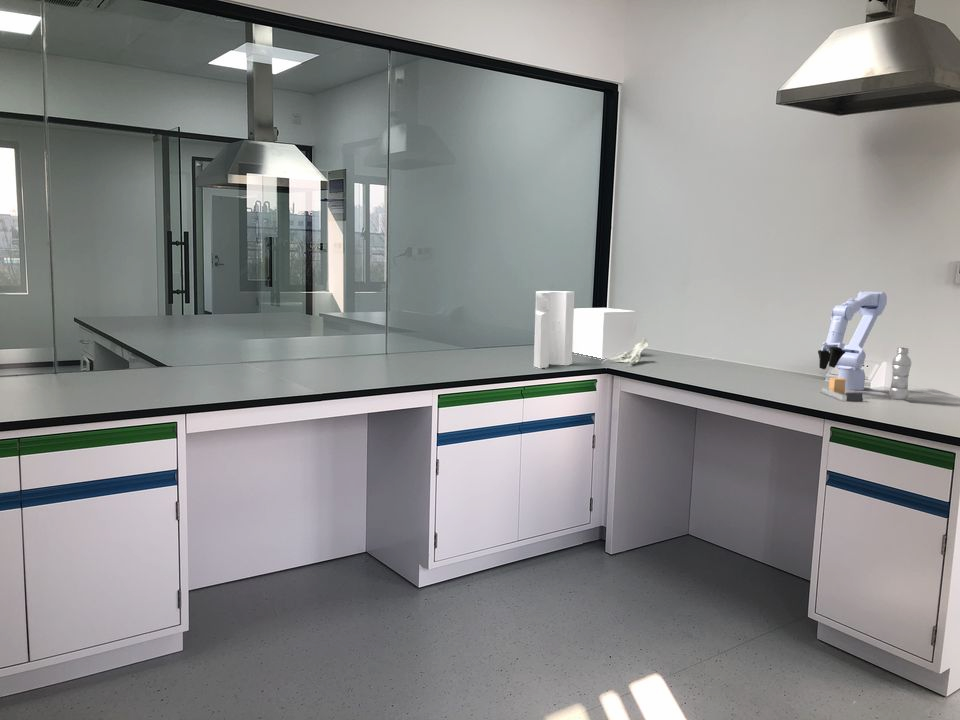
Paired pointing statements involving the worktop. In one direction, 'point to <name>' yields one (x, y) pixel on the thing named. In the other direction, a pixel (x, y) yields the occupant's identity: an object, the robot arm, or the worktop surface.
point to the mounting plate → (843, 395)
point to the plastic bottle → (900, 375)
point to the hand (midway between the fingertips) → (826, 367)
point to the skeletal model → (631, 353)
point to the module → (837, 385)
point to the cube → (603, 331)
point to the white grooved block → (553, 328)
